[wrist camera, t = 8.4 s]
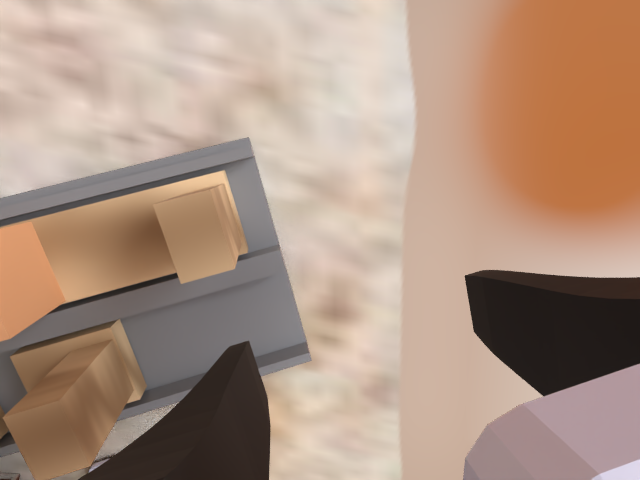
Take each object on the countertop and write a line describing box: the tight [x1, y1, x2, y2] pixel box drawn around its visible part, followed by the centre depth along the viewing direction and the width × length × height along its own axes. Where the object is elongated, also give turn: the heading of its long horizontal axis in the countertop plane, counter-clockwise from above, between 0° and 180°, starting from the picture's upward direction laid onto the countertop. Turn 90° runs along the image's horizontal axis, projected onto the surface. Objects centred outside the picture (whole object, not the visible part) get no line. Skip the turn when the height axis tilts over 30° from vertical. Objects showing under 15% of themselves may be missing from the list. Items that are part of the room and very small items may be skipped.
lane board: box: [0, 137, 312, 457], centre depth 19 cm, size 12×22×2 cm, turn 104°
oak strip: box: [0, 170, 248, 304], centre depth 16 cm, size 4×12×6 cm, turn 104°
